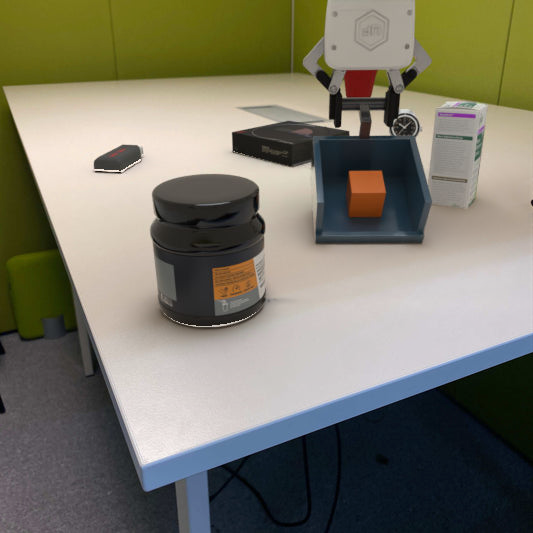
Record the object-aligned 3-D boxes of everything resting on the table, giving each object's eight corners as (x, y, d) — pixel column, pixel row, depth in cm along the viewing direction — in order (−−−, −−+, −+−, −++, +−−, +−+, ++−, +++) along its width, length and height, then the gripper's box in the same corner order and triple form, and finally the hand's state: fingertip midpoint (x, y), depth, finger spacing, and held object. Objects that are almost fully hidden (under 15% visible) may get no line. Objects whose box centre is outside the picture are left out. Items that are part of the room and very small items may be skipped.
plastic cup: (377, 105, 160) (380, 61, 155) (377, 111, 150) (380, 65, 145) (339, 104, 162) (341, 61, 157) (337, 110, 152) (339, 65, 147)
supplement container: (288, 311, 53) (288, 190, 47) (191, 347, 47) (179, 216, 42) (230, 272, 60) (225, 165, 55) (141, 300, 55) (126, 184, 50)
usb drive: (94, 172, 98) (92, 156, 97) (123, 155, 109) (122, 141, 108) (121, 173, 97) (119, 158, 96) (148, 156, 108) (146, 142, 107)
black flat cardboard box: (350, 150, 110) (351, 130, 109) (292, 166, 100) (292, 144, 98) (290, 138, 121) (291, 120, 119) (232, 152, 110) (231, 132, 109)
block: (377, 194, 70) (381, 170, 67) (381, 217, 67) (386, 192, 64) (345, 195, 70) (348, 170, 67) (348, 217, 67) (351, 192, 64)
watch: (383, 182, 91) (388, 113, 86) (381, 169, 98) (386, 105, 93) (417, 183, 90) (425, 114, 85) (413, 169, 97) (420, 106, 92)
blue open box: (309, 157, 76) (312, 95, 68) (400, 157, 76) (413, 94, 68) (314, 247, 65) (318, 185, 58) (421, 247, 65) (439, 184, 57)
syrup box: (466, 217, 75) (483, 108, 69) (423, 211, 78) (435, 105, 71) (474, 205, 79) (490, 102, 73) (433, 199, 82) (445, 99, 76)
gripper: (295, -40, 58) (294, 132, 66) (460, -44, 57) (439, 131, 65) (294, -36, 65) (293, 120, 72) (441, -39, 64) (425, 119, 72)
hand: (362, 124), depth 69 cm, fingers closed on blue open box, 5 cm apart
